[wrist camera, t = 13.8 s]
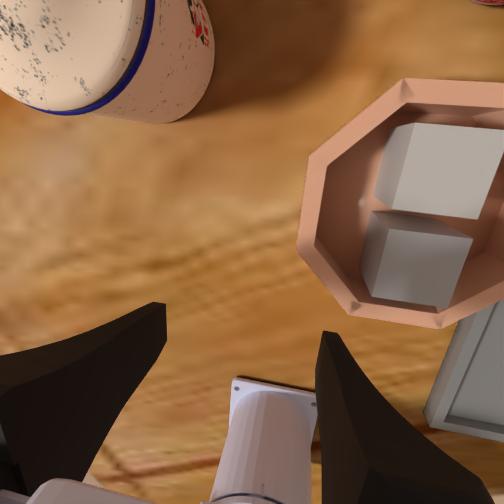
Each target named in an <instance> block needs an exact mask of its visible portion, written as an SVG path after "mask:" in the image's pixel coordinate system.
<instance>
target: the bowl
mask: <svg viewBox="0 0 504 504" xmlns="http://www.w3.org/2000/svg"><path fill="white" fill-rule="evenodd" d="M411 123H426V124H438V125H450V126H462V127H474V128H486V129H498V130H504V83H496V82H475V81H455V80H434V79H413V78H402V79H401V80H400V81H398V82H397V83H395V84H394V85H393V86H391V87H390V88H389V89H387V90H386V91H384V92H383V93H382V94H381V95H380V96H378V97H377V98H376V99H375V100H374V101H372V102H371V103H370V104H369V105H368V106H366V107H365V108H364V109H363V110H362V111H360V112H359V113H358V114H357V115H356V116H354V117H353V118H352V119H351V120H350V121H348V122H347V123H346V124H345V125H344V126H342V127H341V128H340V129H339V130H338V131H336V132H335V133H334V134H333V135H332V136H330V137H329V138H328V139H327V140H326V141H324V142H323V143H322V144H321V145H320V146H318V147H317V148H316V149H315V150H314V151H312V152H311V153H310V154H309V156H308V163H307V170H306V177H305V184H304V191H303V198H302V206H301V213H300V220H299V227H298V234H297V243H296V251H297V252H298V253H299V255H300V256H301V257H302V258H303V259H304V261H305V262H306V263H307V264H308V266H309V267H310V268H311V269H312V271H313V272H314V273H315V274H316V275H317V277H318V278H319V279H320V280H321V282H322V283H323V284H324V285H325V286H326V288H327V289H328V290H329V291H330V293H331V294H332V295H333V296H334V298H335V299H336V300H337V301H338V302H339V304H340V305H341V306H342V307H343V309H344V310H345V311H346V312H347V314H348V315H354V316H360V317H366V318H372V319H379V320H385V321H391V322H397V323H403V324H410V325H416V326H422V327H428V328H435V329H442V328H444V327H446V326H448V325H450V324H452V323H454V322H456V321H459V320H461V319H463V318H465V317H467V316H469V315H471V314H473V313H475V312H477V311H479V310H481V309H483V308H486V307H488V306H490V305H492V304H494V303H496V302H498V301H500V300H502V299H504V153H503V155H502V158H501V160H500V163H499V165H498V168H497V171H496V173H495V176H494V178H493V181H492V184H491V186H490V189H489V191H488V194H487V197H486V199H485V202H484V204H483V207H482V210H481V212H480V215H479V217H478V220H477V219H469V218H461V217H452V216H444V215H436V214H428V213H420V212H412V211H404V210H396V209H391V208H390V207H388V206H387V205H385V204H384V203H383V202H381V201H380V200H378V199H377V198H376V197H374V196H373V192H374V188H375V183H376V179H377V175H378V171H379V167H380V163H381V159H382V155H383V151H384V146H385V142H386V138H387V134H388V130H389V129H390V128H394V127H398V126H403V125H407V124H411ZM371 211H375V212H384V213H393V214H402V215H410V216H419V217H428V218H436V219H438V220H440V221H441V222H443V223H445V224H447V225H449V226H451V227H452V228H454V229H456V230H458V231H460V232H462V233H464V234H465V235H467V236H469V237H471V238H473V241H472V244H471V247H470V249H469V252H468V255H467V257H466V260H465V263H464V265H463V268H462V271H461V273H460V276H459V279H458V281H457V284H456V287H455V289H454V292H453V295H452V297H451V300H450V303H449V305H448V308H443V307H436V306H430V305H423V304H417V303H410V302H404V301H397V300H390V299H384V298H377V297H372V296H371V294H370V292H369V290H368V287H367V285H366V283H365V281H364V278H363V276H362V274H361V271H360V269H359V267H358V265H359V261H360V256H361V252H362V248H363V243H364V239H365V235H366V231H367V226H368V222H369V218H370V213H371Z"/></svg>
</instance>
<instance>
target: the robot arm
mask: <svg viewBox="0 0 504 504" xmlns="http://www.w3.org/2000/svg"><path fill="white" fill-rule="evenodd" d="M166 341H167V323H166V304H164V303H158V302H152V303H149V304H147V305H145V306H143V307H140V308H138V309H136V310H134V311H132V312H130V313H128V314H126V315H124V316H122V317H120V318H117V319H115V320H113V321H111V322H109V323H106V324H104V325H102V326H99V327H97V328H95V329H92V330H90V331H87V332H85V333H82V334H79V335H76V336H74V337H71V338H68V339H65V340H62V341H58V342H55V343H51V344H48V345H44V346H41V347H37V348H33V349H29V350H25V351H20V352H16V353H11V354H6V355H1V356H0V504H156V503H154V502H152V501H148V500H144V499H141V498H137V497H133V496H130V495H126V494H122V493H119V492H115V491H111V490H108V489H104V488H100V487H97V486H93V485H89V484H86V483H82V481H83V479H84V477H85V475H86V473H87V472H88V470H89V468H90V466H91V464H92V462H93V460H94V458H95V456H96V454H97V452H98V451H99V449H100V447H101V445H102V443H103V441H104V440H105V438H106V436H107V434H108V432H109V431H110V429H111V427H112V425H113V424H114V422H115V420H116V418H117V417H118V415H119V413H120V412H121V410H122V408H123V407H124V405H125V404H126V402H127V401H128V399H129V398H130V397H131V395H132V394H133V392H134V391H135V390H136V388H137V387H138V385H139V384H140V383H141V381H142V380H143V379H144V377H145V376H146V374H147V373H148V372H149V370H150V369H151V367H152V366H153V364H154V363H155V362H156V360H157V358H158V357H159V355H160V353H161V351H162V349H163V347H164V345H165V343H166ZM237 387H239V388H237ZM313 402H315V403H313ZM317 415H318V423H319V433H320V442H321V459H322V504H495V503H494V501H493V499H492V497H491V496H490V494H489V492H488V491H487V489H486V487H485V486H484V484H483V482H482V481H481V479H480V478H479V477H477V476H476V475H474V474H473V473H472V472H470V471H469V470H468V469H466V468H465V467H463V466H462V465H461V464H459V463H458V462H457V461H455V460H454V459H452V458H451V457H450V456H448V455H447V454H446V453H444V452H443V451H442V450H441V449H439V448H438V447H437V446H436V445H434V444H433V443H432V442H431V441H430V440H428V439H427V438H426V437H425V436H424V435H422V434H421V433H420V432H419V431H418V430H417V429H415V428H414V427H413V426H412V425H411V424H410V423H409V422H408V421H407V420H406V419H405V418H404V417H403V416H402V415H400V414H399V413H398V412H397V411H396V410H395V409H394V408H393V407H392V406H391V404H390V403H389V402H388V401H387V400H386V399H385V398H384V397H383V396H382V395H381V394H380V393H379V391H378V390H377V389H376V388H375V387H374V385H373V384H372V383H371V382H370V380H369V379H368V378H367V377H366V375H365V374H364V372H363V371H362V370H361V368H360V367H359V365H358V364H357V363H356V361H355V360H354V358H353V357H352V355H351V354H350V352H349V350H348V349H347V347H346V346H345V344H344V342H343V341H342V339H341V337H340V336H339V334H338V333H334V332H328V331H323V333H322V338H321V343H320V348H319V353H318V358H317V363H316V368H315V393H313V392H308V391H303V390H298V389H293V388H288V387H283V386H278V385H273V384H268V383H263V382H258V381H253V380H248V379H243V378H238V377H236V378H234V379H233V381H232V389H231V403H230V418H229V431H228V435H227V438H226V442H225V446H224V449H223V453H222V457H221V460H220V464H219V467H218V471H217V475H216V478H215V482H214V486H213V489H212V493H211V496H210V500H209V502H204V501H202V502H201V504H311V443H312V438H313V434H314V429H315V424H316V420H317Z"/></svg>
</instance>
